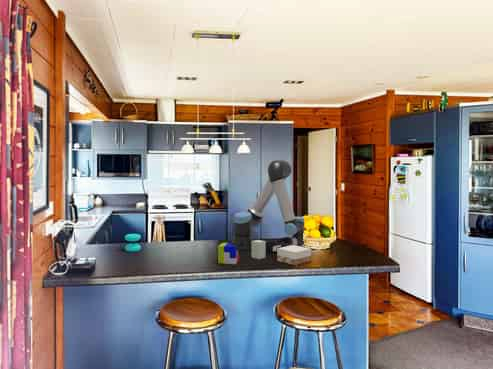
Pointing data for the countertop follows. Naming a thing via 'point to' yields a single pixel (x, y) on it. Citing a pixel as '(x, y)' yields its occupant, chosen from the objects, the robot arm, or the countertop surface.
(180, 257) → the countertop surface
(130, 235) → the teal spool
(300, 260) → the tower base
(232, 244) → the puzzle toy
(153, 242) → the countertop surface
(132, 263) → the countertop surface
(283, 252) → the tower top
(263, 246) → the sage block
